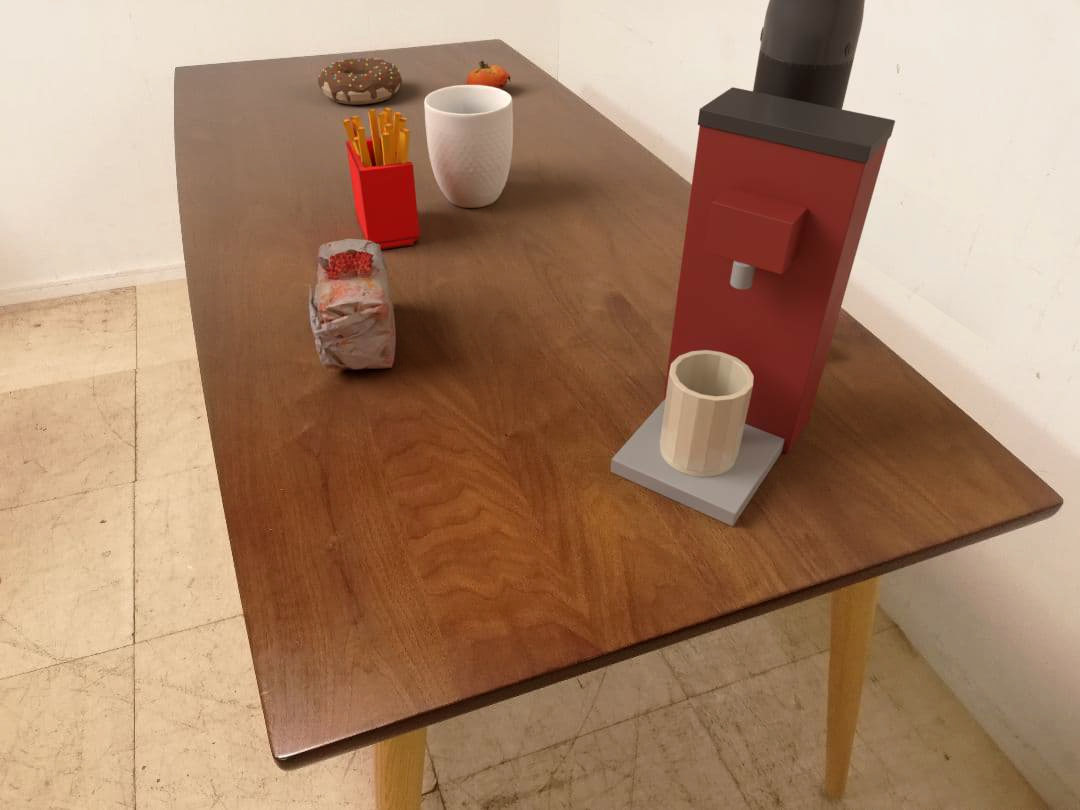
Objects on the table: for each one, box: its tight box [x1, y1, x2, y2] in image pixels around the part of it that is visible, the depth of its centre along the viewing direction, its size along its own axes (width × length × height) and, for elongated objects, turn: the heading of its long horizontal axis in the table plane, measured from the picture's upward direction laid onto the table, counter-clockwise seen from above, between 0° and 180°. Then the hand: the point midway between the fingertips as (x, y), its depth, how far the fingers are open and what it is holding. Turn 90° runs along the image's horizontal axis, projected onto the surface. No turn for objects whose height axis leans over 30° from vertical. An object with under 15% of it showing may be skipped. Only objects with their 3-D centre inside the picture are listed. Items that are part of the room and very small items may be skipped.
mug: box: [423, 84, 514, 209], centre depth 107 cm, size 15×11×13 cm
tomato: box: [464, 59, 512, 90], centre depth 141 cm, size 8×7×7 cm
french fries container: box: [341, 107, 420, 251], centre depth 97 cm, size 7×9×14 cm
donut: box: [317, 57, 403, 105], centre depth 139 cm, size 14×14×5 cm
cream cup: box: [660, 350, 754, 477], centre depth 66 cm, size 6×6×8 cm
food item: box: [308, 238, 397, 371], centre depth 80 cm, size 14×8×10 cm, turn 13°
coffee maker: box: [610, 86, 896, 527], centre depth 63 cm, size 16×12×27 cm
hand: (769, 239), depth 77 cm, fingers closed
